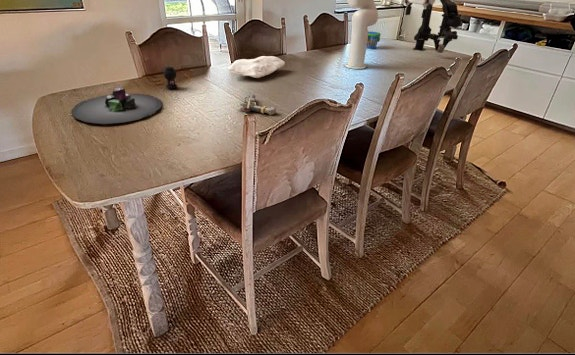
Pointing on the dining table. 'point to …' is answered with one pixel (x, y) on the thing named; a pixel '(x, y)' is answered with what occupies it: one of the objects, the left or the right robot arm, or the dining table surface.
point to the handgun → (255, 106)
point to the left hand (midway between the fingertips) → (415, 16)
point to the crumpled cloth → (256, 66)
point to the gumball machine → (170, 77)
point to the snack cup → (373, 39)
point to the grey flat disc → (116, 108)
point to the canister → (440, 48)
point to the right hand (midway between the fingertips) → (439, 50)
